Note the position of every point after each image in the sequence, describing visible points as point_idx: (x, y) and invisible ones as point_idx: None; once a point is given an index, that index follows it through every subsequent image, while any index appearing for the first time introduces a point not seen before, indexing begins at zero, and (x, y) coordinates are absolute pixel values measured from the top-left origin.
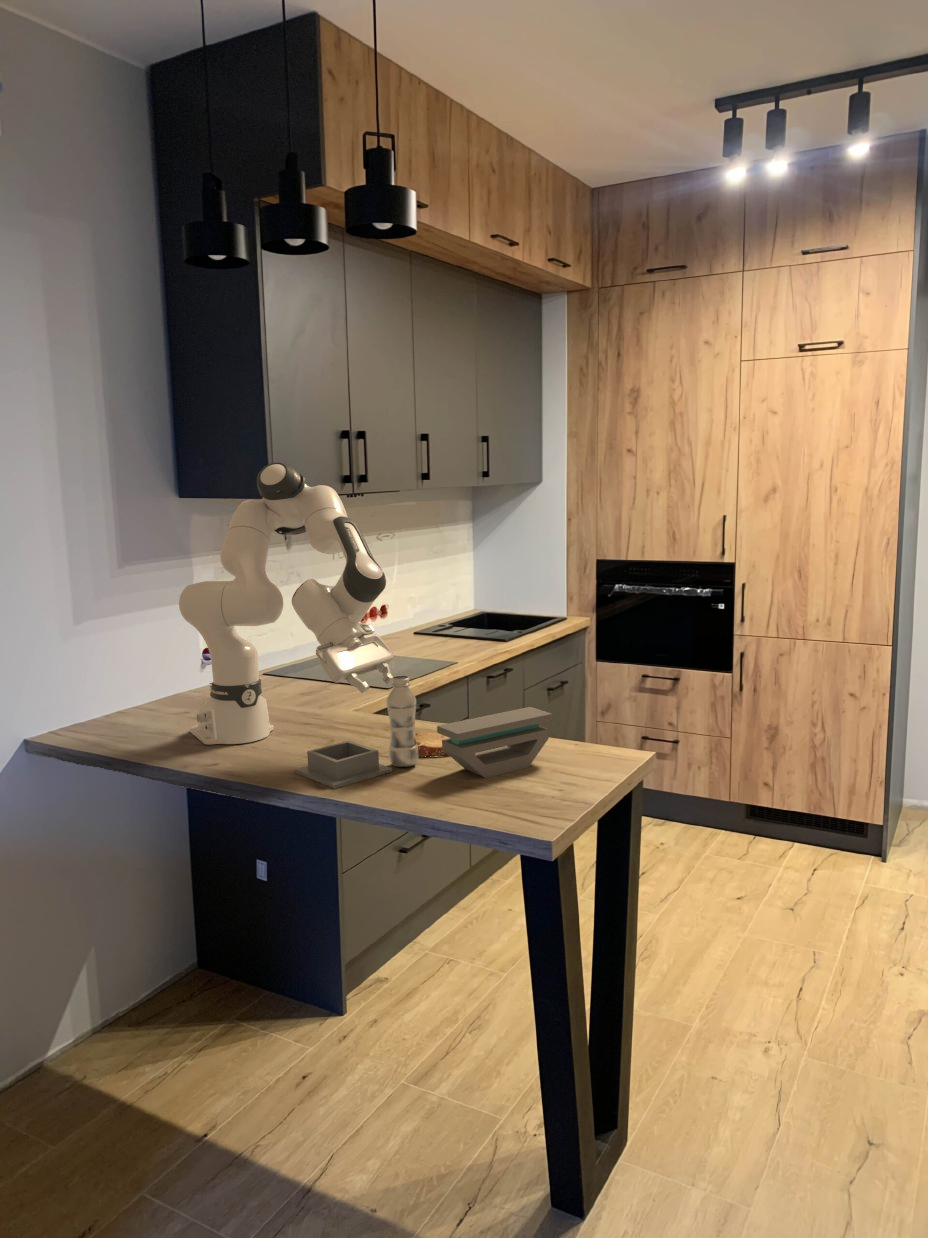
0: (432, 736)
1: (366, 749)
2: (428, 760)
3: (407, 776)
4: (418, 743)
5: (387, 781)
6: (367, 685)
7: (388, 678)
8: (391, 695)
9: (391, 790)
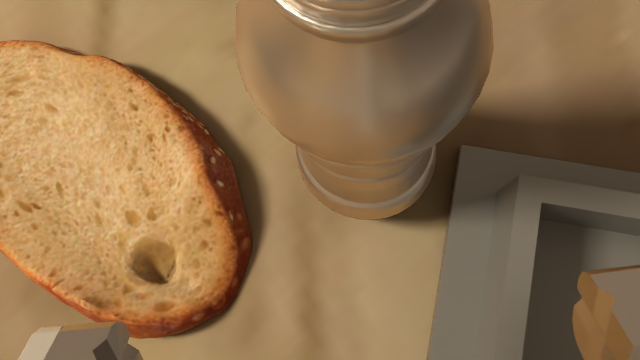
0: (50, 243)
1: (533, 251)
2: (254, 125)
3: None
4: (136, 263)
5: (559, 85)
6: (617, 286)
7: (110, 355)
8: (472, 22)
9: (627, 2)
